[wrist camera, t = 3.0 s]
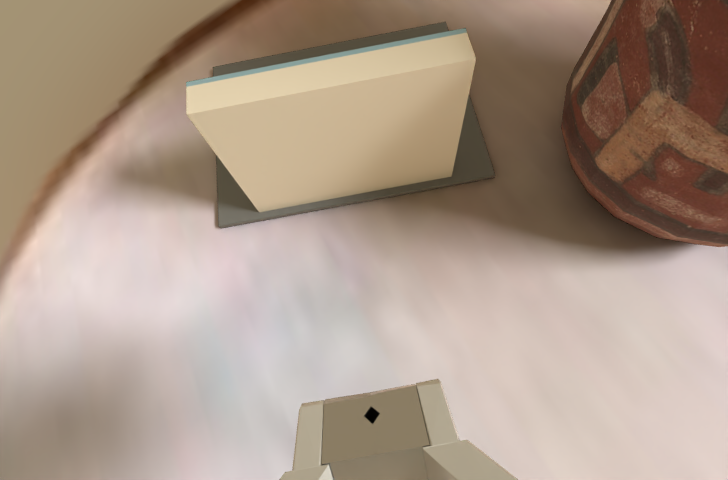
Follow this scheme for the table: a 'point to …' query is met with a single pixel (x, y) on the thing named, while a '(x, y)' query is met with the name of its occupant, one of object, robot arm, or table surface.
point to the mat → (467, 168)
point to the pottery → (655, 117)
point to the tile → (339, 120)
